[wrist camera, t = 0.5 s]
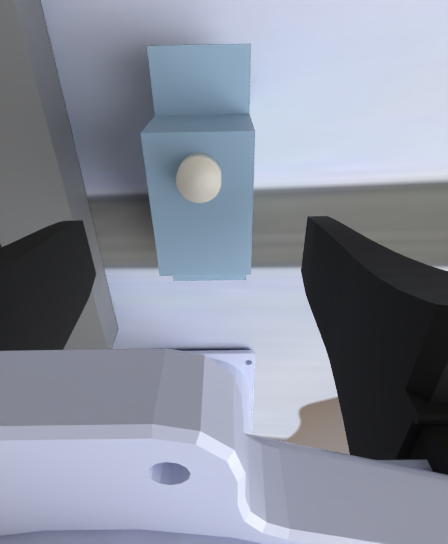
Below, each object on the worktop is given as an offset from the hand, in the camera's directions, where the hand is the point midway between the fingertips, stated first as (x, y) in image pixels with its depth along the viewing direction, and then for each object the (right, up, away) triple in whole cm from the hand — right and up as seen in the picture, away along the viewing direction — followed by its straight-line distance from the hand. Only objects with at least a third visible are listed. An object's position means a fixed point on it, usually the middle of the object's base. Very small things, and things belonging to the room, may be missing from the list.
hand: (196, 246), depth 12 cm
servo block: (0, +5, +8) cm, 9 cm away
